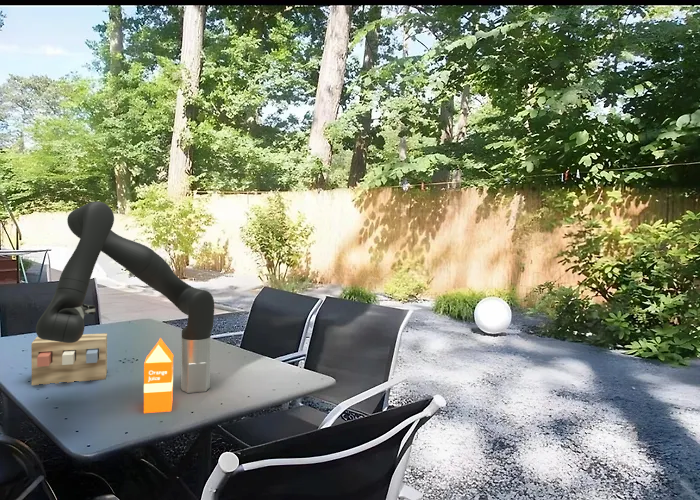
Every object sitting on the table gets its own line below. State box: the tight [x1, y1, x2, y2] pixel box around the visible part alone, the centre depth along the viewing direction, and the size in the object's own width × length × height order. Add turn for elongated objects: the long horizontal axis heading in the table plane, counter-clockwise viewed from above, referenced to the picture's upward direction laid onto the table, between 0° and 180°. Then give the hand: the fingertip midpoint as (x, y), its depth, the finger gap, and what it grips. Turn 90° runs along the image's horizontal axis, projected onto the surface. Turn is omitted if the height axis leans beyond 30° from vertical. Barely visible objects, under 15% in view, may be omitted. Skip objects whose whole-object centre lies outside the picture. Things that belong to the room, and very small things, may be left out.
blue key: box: [86, 348, 99, 363], centre depth 175 cm, size 11×3×3 cm, turn 22°
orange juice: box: [143, 337, 175, 414], centre depth 152 cm, size 8×9×20 cm
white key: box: [62, 350, 76, 365], centre depth 173 cm, size 11×3×3 cm, turn 22°
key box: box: [30, 332, 108, 386], centre depth 177 cm, size 10×22×14 cm, turn 112°
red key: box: [37, 351, 52, 367], centre depth 170 cm, size 11×3×3 cm, turn 22°
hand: (75, 305), depth 160 cm, fingers closed
